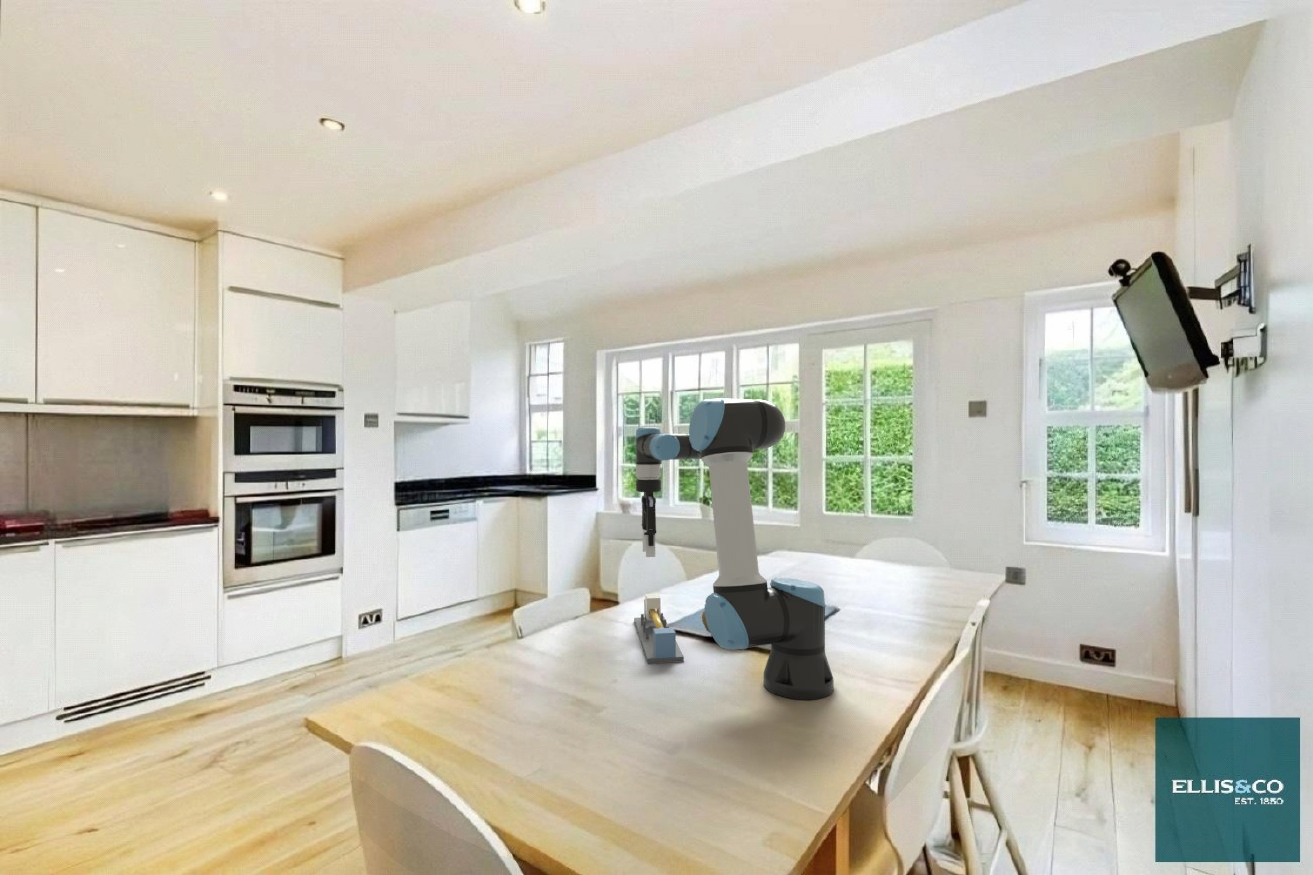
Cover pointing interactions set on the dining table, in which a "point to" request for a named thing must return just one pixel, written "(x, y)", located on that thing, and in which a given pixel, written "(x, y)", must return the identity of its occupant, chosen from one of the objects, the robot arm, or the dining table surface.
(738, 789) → the dining table surface
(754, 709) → the dining table surface
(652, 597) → the sleeve
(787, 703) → the dining table surface
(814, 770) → the dining table surface
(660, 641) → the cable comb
